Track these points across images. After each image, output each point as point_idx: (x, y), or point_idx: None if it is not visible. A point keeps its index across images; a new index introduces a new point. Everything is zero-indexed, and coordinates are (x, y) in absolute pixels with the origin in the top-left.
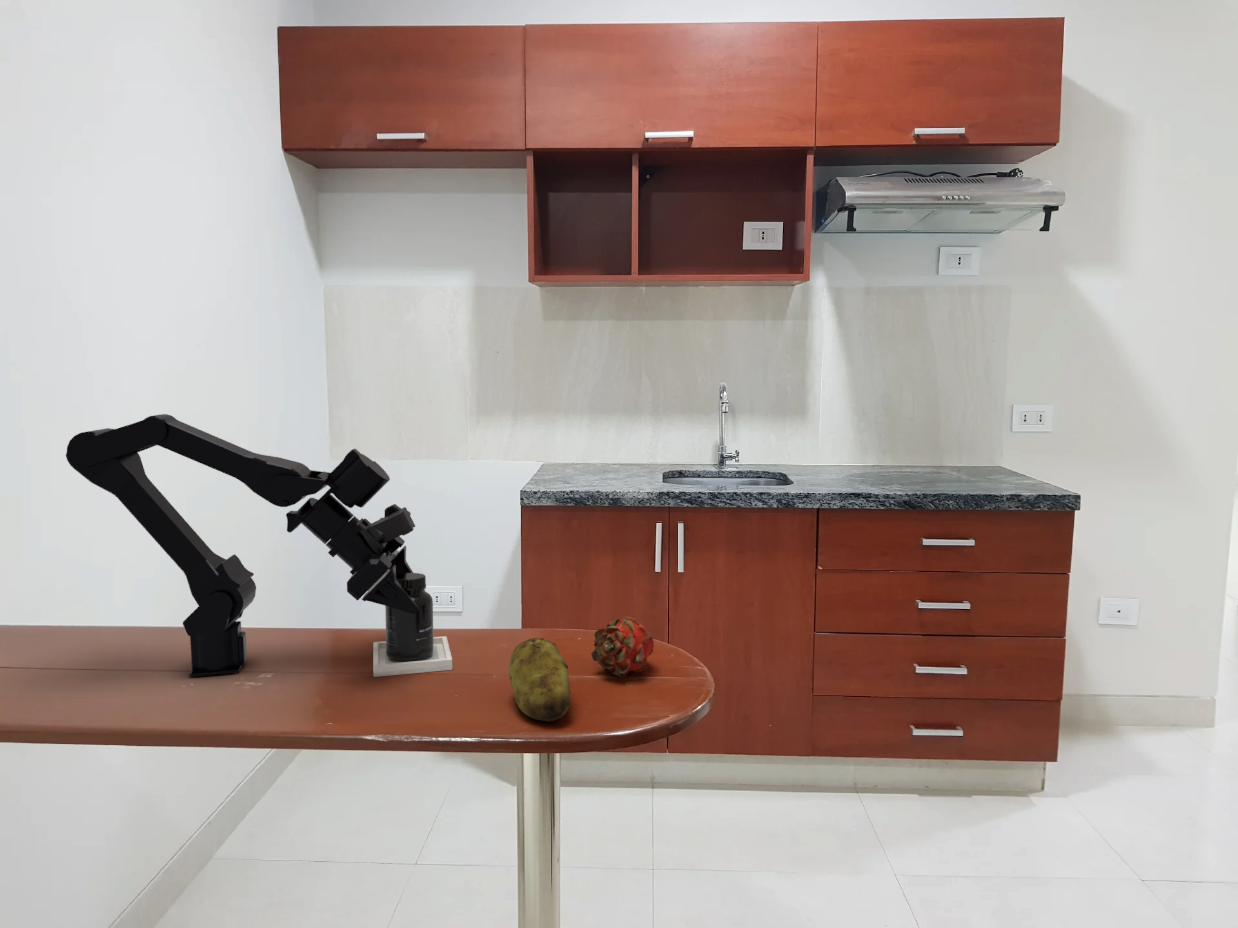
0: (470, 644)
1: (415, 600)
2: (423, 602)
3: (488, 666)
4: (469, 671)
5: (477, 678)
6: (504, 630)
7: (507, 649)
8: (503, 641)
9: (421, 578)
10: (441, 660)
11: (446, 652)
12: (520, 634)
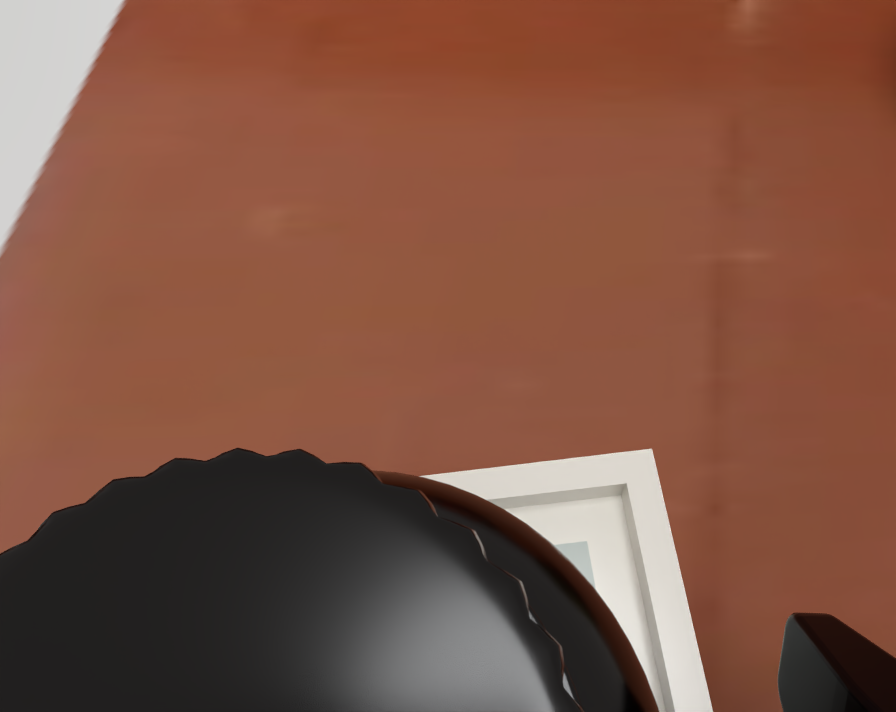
0: (208, 383)
1: (614, 668)
2: (564, 562)
3: (598, 285)
4: (672, 376)
5: (783, 334)
6: (28, 218)
7: (346, 203)
8: (211, 221)
9: (431, 508)
10: (665, 516)
11: (508, 490)
12: (126, 148)
